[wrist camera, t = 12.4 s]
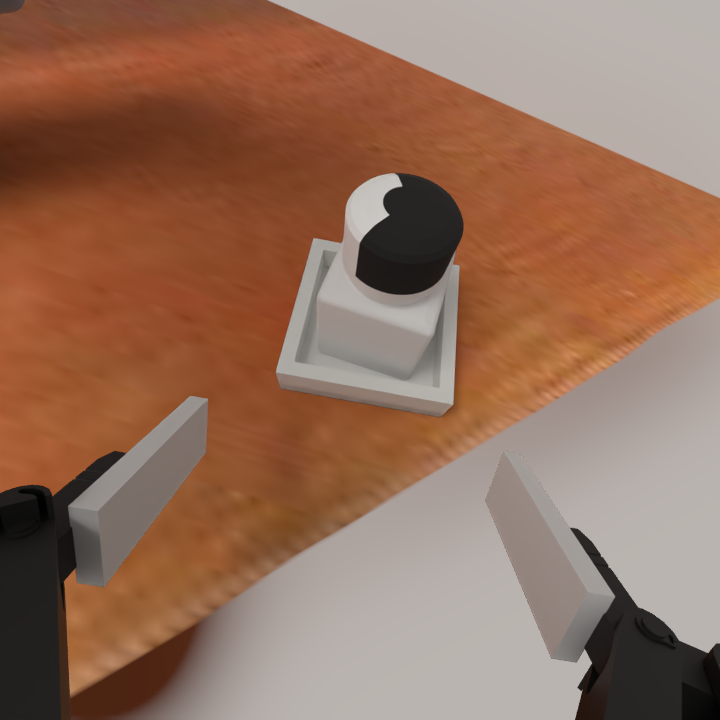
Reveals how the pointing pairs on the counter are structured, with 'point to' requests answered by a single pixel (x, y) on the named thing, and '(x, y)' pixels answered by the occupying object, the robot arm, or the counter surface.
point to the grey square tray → (357, 383)
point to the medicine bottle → (389, 274)
